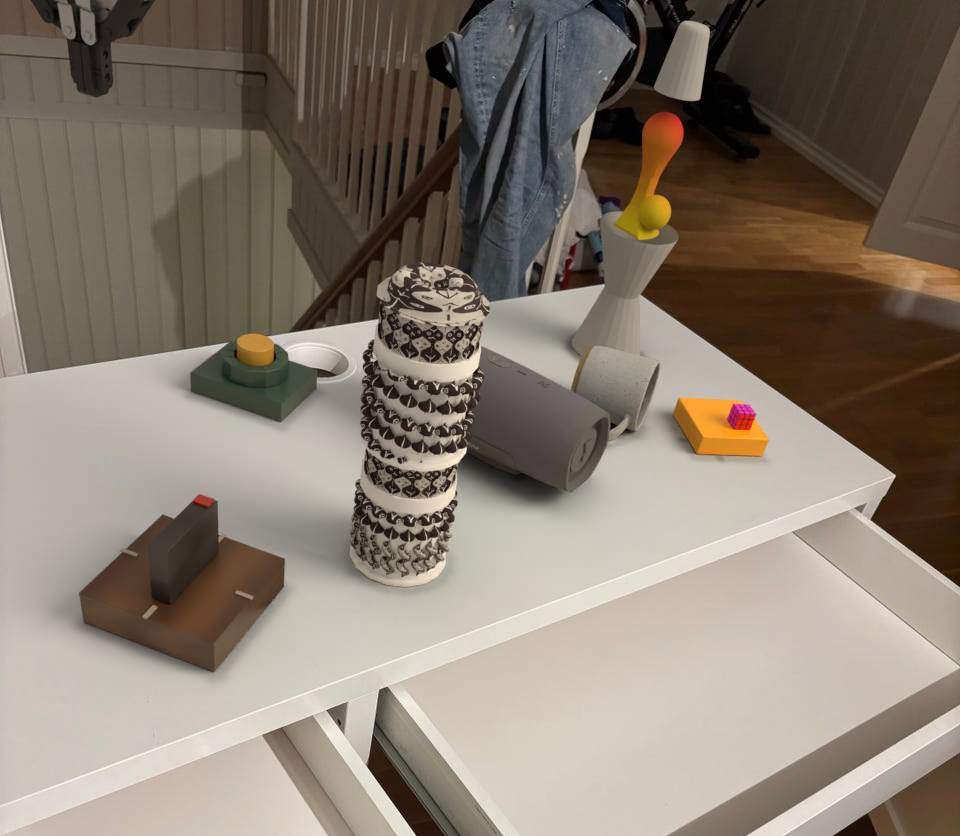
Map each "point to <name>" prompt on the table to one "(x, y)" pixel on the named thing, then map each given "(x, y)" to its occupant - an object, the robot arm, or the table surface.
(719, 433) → the orange square block
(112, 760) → the table surface
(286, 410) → the button block
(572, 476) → the bluetooth speaker
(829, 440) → the table surface
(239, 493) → the table surface
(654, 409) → the table surface
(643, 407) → the ceramic mug
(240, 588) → the rotary knob block
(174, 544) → the rotary switch knob
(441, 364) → the patterned cylindrical tower
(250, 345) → the button
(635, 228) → the lava lamp
